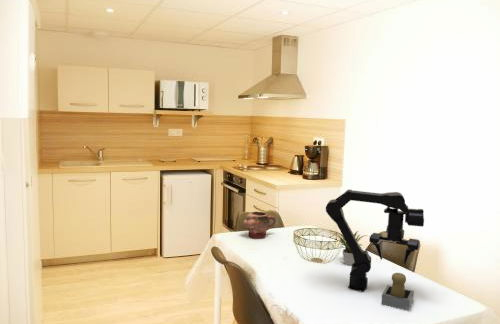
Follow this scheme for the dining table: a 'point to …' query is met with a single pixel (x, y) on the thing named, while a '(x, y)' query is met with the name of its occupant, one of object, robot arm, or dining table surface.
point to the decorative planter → (258, 224)
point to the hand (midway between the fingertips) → (393, 261)
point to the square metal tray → (397, 299)
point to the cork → (398, 285)
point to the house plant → (348, 250)
